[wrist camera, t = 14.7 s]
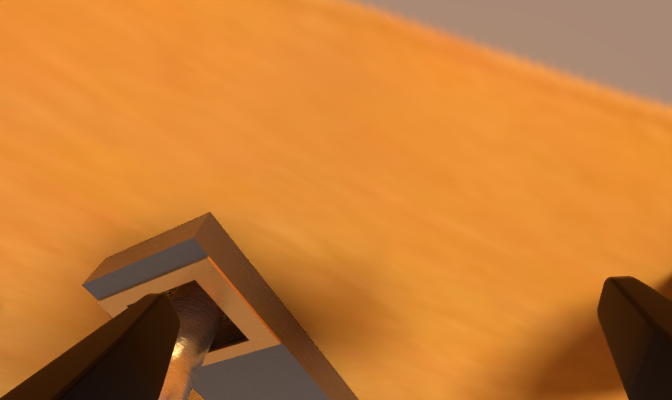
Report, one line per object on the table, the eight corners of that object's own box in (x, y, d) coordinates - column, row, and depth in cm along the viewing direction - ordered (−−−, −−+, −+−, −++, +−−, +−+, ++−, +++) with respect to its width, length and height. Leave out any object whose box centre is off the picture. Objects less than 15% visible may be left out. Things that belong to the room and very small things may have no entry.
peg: (239, 289, 27) (125, 551, 15) (218, 318, 29) (103, 574, 17) (189, 264, 26) (31, 519, 15) (172, 296, 28) (17, 546, 16)
